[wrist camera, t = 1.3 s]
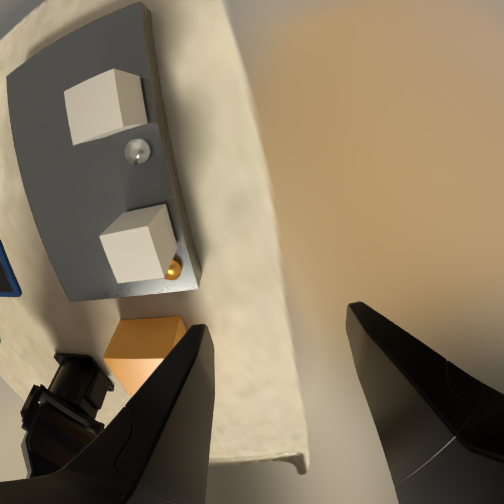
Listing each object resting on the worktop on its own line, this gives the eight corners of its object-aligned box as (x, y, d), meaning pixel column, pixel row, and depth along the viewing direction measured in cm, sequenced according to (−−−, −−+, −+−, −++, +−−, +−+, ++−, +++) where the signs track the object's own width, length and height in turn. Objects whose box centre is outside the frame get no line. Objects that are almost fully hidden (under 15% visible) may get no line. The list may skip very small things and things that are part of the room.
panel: (79, 288, 21) (68, 304, 19) (21, 76, 12) (3, 76, 10) (202, 273, 21) (197, 292, 19) (150, 11, 12) (138, -1, 10)
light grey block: (136, 254, 17) (117, 283, 14) (123, 212, 16) (99, 235, 13) (177, 247, 17) (164, 277, 14) (165, 203, 16) (147, 226, 13)
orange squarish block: (144, 363, 26) (133, 400, 22) (120, 320, 23) (102, 358, 19) (199, 361, 26) (194, 401, 21) (180, 315, 23) (170, 358, 19)
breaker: (103, 137, 14) (73, 145, 11) (95, 92, 12) (63, 91, 9) (147, 123, 14) (123, 126, 11) (139, 76, 12) (113, 68, 9)
